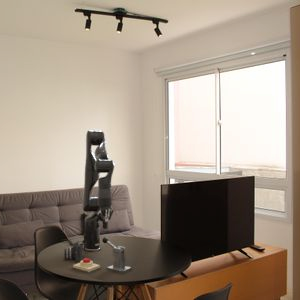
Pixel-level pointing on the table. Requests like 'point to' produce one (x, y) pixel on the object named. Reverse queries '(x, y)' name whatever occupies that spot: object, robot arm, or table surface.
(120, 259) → the base
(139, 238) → the table surface
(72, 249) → the camera
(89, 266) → the button block
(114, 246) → the lever handle
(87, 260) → the button
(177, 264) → the table surface
